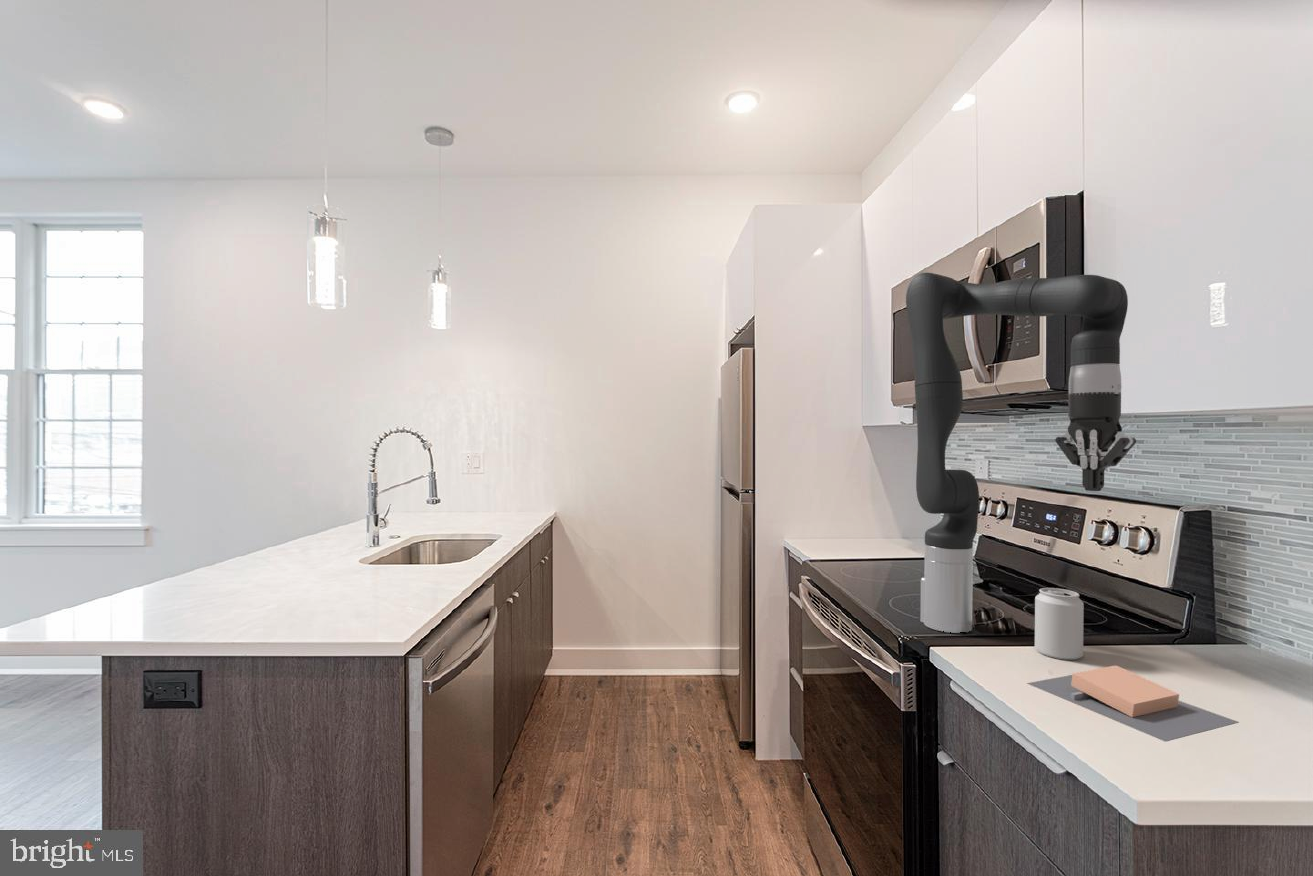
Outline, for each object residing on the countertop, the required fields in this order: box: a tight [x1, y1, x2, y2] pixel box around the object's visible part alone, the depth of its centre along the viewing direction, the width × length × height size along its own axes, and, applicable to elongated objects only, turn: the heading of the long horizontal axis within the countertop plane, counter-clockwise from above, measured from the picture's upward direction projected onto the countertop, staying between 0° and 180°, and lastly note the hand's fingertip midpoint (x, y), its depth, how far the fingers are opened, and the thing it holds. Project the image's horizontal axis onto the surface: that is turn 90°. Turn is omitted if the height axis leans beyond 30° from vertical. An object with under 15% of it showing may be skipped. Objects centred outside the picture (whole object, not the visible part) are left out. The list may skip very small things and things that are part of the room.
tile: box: [1071, 665, 1180, 717], centre depth 94 cm, size 2×10×9 cm
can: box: [1034, 587, 1085, 661], centre depth 114 cm, size 8×8×12 cm
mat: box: [1026, 674, 1239, 742], centre depth 94 cm, size 20×16×1 cm
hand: (1093, 490), depth 108 cm, fingers closed
